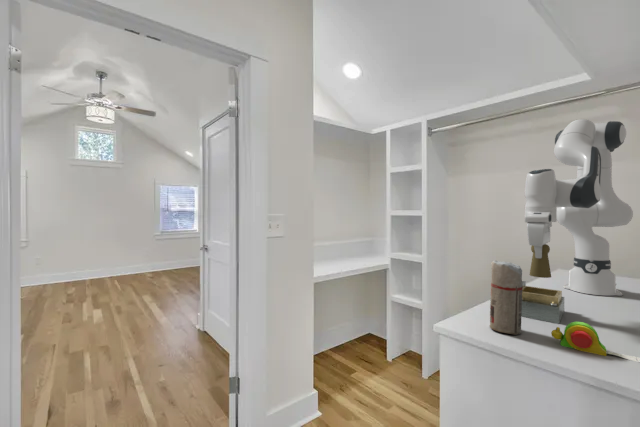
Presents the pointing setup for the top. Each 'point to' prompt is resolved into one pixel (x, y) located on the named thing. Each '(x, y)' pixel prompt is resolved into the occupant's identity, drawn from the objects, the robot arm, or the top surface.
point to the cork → (540, 263)
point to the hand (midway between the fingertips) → (540, 257)
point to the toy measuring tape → (584, 340)
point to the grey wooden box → (542, 303)
